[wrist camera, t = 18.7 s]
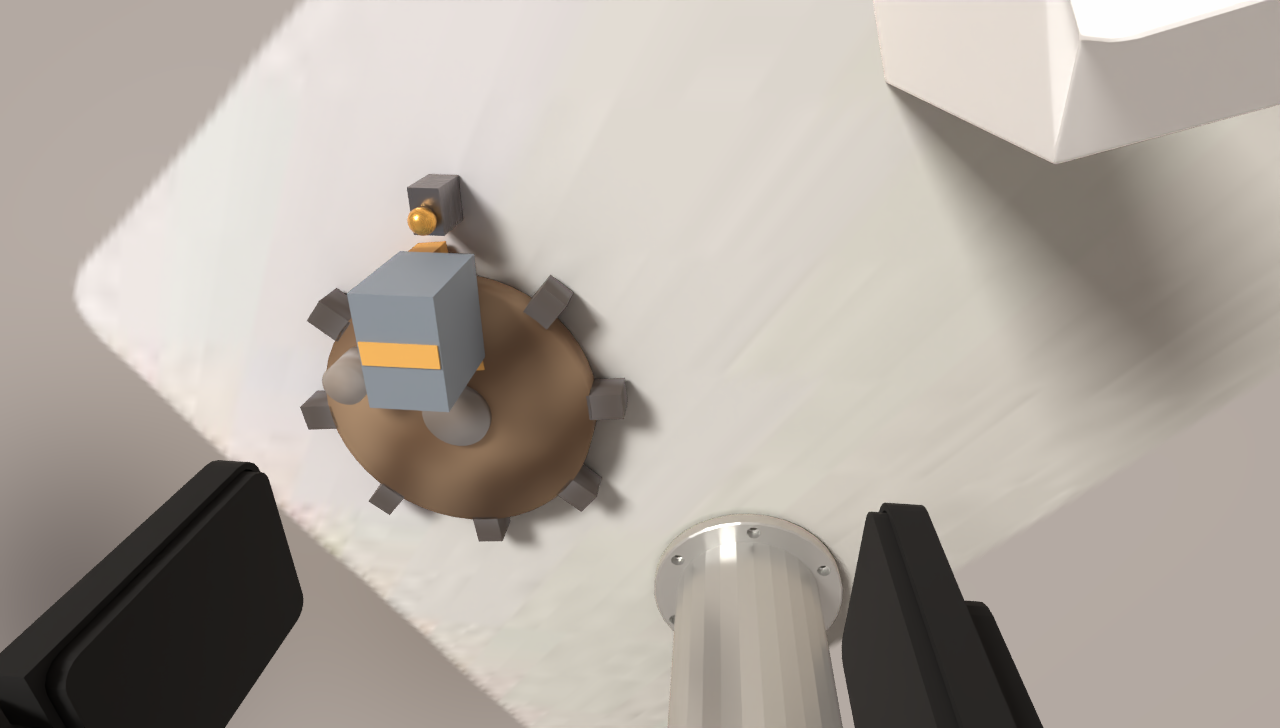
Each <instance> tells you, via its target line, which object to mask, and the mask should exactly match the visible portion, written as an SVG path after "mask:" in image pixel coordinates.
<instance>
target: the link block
mask: <svg viewBox="0 0 1280 728" xmlns="http://www.w3.org/2000/svg"><path fill="white" fill-rule="evenodd" d="M347 297H348V302H349V307H350V312H351V317H352V322H353V327H354V332H355V337H356V342H357V347H358V352H359V357H360V362H361V367H362V372H363V377H364V381H365V386H366V391H367V396H368V401H369V406H370V408H383V409H401V410H419V411H436V412H450V410H451V409H452V407H453V405H454V404H455V402H456V401H457V399H458V398H459V396H460V395H461V393H462V392H463V390H464V389H465V387H466V385H467V384H468V382H469V381H470V379H471V378H472V376H473V375H474V373H475V372H476V370H477V368H478V367H479V365H480V364H481V362H482V361H483V359H484V358H485V350H484V341H483V332H482V323H481V314H480V304H479V295H478V286H477V277H476V267H475V258H474V254H459V253H432V252H405V251H400V252H398V253H397V254H396V255H395V256H393V257H392V258H391V259H390V260H388V261H387V262H386V263H385V264H383V265H382V266H381V267H380V268H378V269H377V270H376V271H374V272H373V273H372V274H371V275H369V276H368V277H367V278H366V279H364V280H363V281H362V282H361V283H359V284H358V285H357V286H356V287H354V288H353V289H352V290H351V291H349V292H348V293H347Z"/></svg>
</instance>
